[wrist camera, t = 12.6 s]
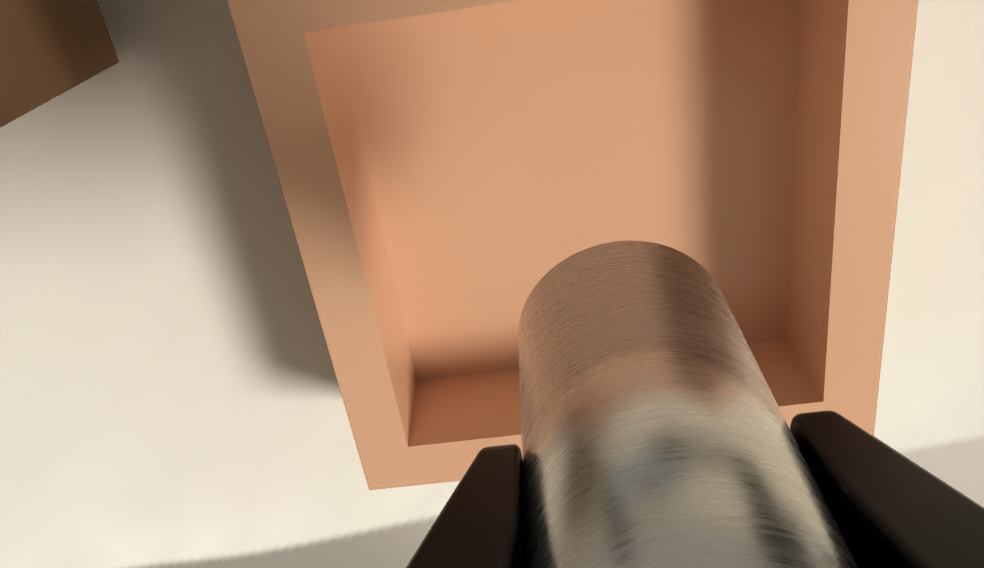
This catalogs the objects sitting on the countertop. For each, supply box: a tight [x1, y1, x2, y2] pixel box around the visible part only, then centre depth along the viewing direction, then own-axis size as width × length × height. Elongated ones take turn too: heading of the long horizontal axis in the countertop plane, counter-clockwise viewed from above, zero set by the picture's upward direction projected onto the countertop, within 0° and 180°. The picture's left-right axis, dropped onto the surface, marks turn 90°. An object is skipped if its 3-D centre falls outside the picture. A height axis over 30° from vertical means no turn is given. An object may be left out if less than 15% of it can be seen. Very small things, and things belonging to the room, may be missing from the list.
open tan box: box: [227, 0, 918, 490], centre depth 15 cm, size 10×10×3 cm
